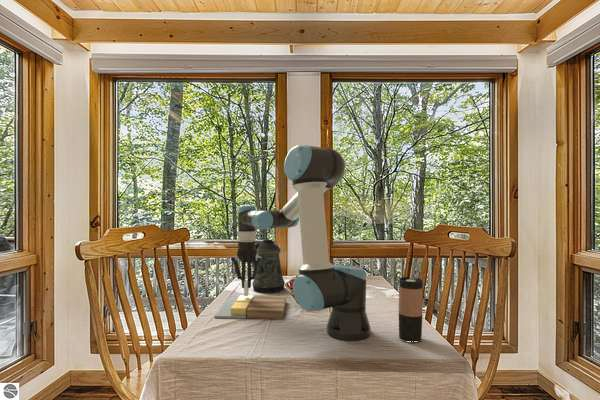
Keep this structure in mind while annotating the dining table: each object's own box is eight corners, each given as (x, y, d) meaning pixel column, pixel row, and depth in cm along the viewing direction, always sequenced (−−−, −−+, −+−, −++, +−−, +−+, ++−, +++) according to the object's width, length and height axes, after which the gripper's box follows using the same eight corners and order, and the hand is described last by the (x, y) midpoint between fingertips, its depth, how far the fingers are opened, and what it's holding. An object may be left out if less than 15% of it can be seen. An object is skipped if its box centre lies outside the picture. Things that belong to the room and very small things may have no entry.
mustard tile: (245, 314, 148) (245, 308, 148) (230, 314, 148) (230, 308, 148) (249, 308, 157) (249, 302, 157) (235, 307, 157) (235, 301, 157)
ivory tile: (250, 306, 159) (250, 300, 159) (236, 306, 159) (236, 300, 159) (253, 300, 168) (253, 295, 168) (240, 300, 168) (240, 295, 168)
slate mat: (245, 318, 145) (245, 316, 145) (214, 318, 146) (214, 316, 146) (254, 301, 169) (254, 299, 169) (228, 301, 170) (228, 299, 170)
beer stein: (281, 294, 183) (281, 242, 183) (242, 292, 186) (242, 241, 186) (287, 286, 199) (288, 239, 199) (252, 284, 202) (252, 238, 202)
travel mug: (406, 344, 121) (407, 282, 121) (394, 336, 128) (394, 277, 128) (427, 342, 123) (427, 281, 123) (413, 334, 131) (414, 276, 130)
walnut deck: (282, 318, 146) (282, 310, 146) (246, 317, 146) (246, 310, 146) (286, 302, 168) (286, 295, 168) (255, 302, 168) (255, 295, 168)
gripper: (262, 240, 166) (262, 293, 167) (233, 239, 167) (233, 293, 167) (260, 242, 159) (260, 298, 159) (229, 241, 159) (229, 297, 159)
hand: (246, 295), depth 163 cm, fingers closed
